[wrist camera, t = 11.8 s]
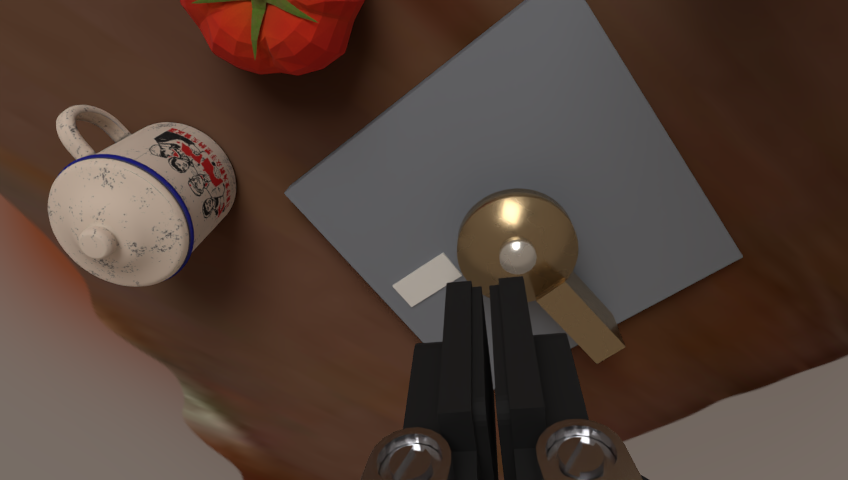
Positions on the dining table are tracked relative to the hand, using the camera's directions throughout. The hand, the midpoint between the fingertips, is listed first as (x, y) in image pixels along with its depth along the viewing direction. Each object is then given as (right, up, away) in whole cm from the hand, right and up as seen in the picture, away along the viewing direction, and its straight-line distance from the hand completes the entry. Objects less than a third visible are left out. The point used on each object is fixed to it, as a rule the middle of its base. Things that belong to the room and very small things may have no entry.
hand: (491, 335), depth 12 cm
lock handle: (+7, +1, +29) cm, 30 cm away
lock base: (+5, +4, +30) cm, 31 cm away
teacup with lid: (-21, +8, +31) cm, 38 cm away
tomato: (-10, +19, +24) cm, 32 cm away
